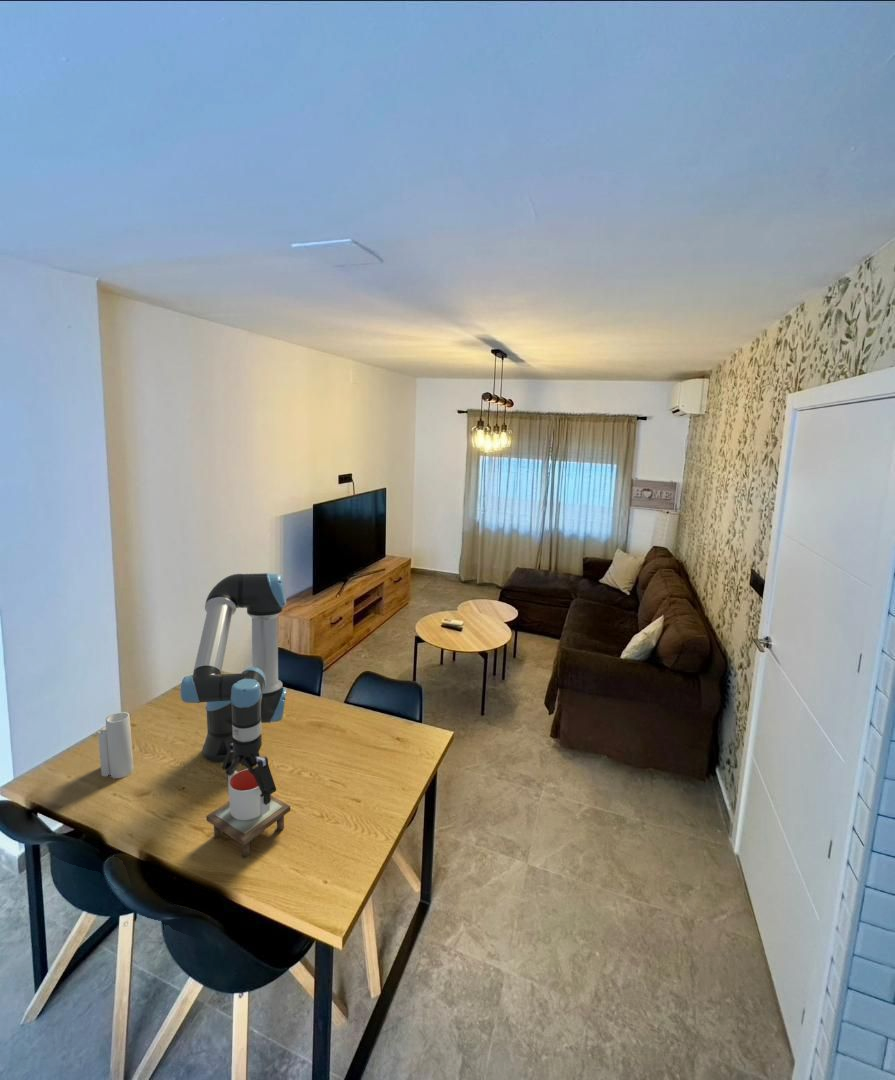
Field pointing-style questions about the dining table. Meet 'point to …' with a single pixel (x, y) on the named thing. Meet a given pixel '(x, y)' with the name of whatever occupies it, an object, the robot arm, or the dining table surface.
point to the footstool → (247, 823)
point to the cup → (244, 796)
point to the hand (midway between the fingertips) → (248, 802)
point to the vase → (116, 746)
